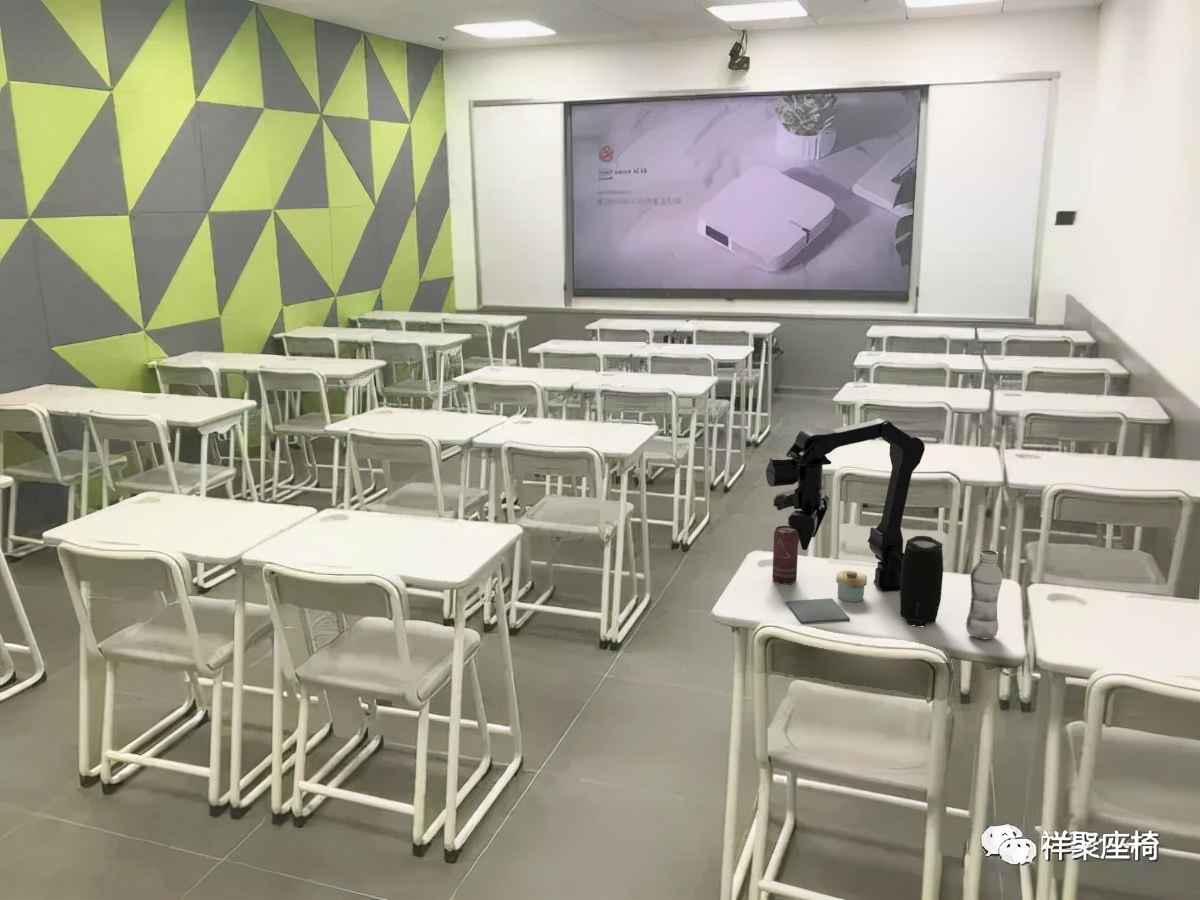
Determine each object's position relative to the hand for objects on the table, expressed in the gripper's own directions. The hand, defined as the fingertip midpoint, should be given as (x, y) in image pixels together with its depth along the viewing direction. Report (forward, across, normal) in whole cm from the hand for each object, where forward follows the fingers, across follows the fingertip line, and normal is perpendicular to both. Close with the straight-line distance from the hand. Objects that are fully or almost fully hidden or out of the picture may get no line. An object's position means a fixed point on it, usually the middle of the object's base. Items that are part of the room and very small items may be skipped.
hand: (808, 543), depth 231 cm
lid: (+10, -2, +10) cm, 14 cm away
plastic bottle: (+14, +8, +41) cm, 44 cm away
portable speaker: (+14, +5, +27) cm, 31 cm away
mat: (+13, +10, +4) cm, 17 cm away
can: (+14, -7, -7) cm, 17 cm away
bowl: (+14, -2, +10) cm, 17 cm away
